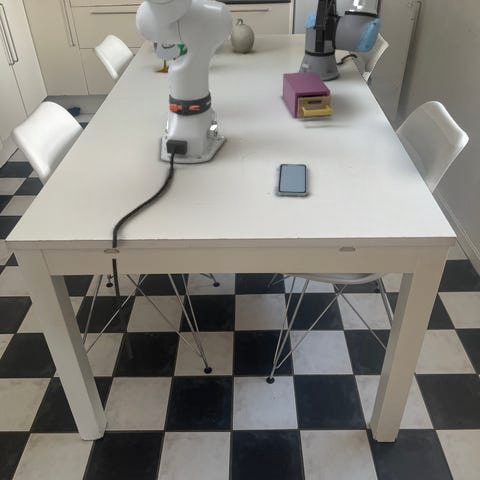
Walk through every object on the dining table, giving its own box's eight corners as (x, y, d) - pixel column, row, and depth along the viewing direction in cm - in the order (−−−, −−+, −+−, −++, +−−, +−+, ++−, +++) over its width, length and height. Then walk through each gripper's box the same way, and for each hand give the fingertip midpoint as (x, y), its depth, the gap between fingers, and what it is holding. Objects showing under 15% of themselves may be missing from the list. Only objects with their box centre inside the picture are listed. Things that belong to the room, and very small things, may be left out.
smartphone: (277, 192, 126) (279, 163, 138) (277, 196, 127) (279, 166, 139) (307, 193, 125) (307, 164, 137) (307, 196, 126) (306, 167, 138)
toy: (155, 65, 218) (148, 2, 203) (198, 69, 211) (194, 5, 197) (145, 70, 212) (137, 6, 198) (190, 75, 205) (185, 9, 191)
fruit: (247, 46, 238) (247, 12, 230) (258, 52, 229) (258, 17, 221) (227, 49, 235) (225, 14, 226) (236, 55, 226) (235, 19, 218)
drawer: (334, 122, 161) (335, 103, 157) (302, 125, 160) (303, 106, 156) (315, 96, 180) (316, 78, 177) (286, 97, 180) (287, 80, 176)
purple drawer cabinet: (328, 115, 168) (330, 90, 164) (294, 117, 167) (295, 93, 163) (313, 94, 185) (315, 71, 180) (282, 96, 184) (283, 73, 179)
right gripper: (325, -38, 157) (321, 35, 169) (306, -24, 138) (302, 56, 151) (350, -37, 155) (343, 36, 167) (333, -23, 136) (327, 58, 148)
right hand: (324, 46), depth 159 cm, fingers open, 13 cm apart
